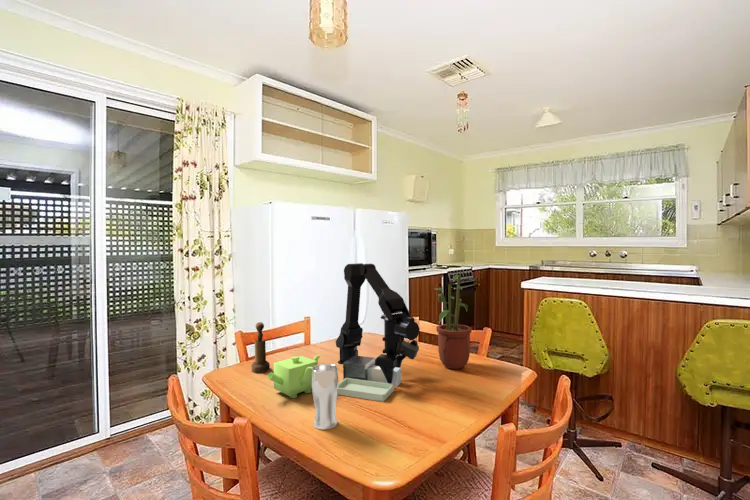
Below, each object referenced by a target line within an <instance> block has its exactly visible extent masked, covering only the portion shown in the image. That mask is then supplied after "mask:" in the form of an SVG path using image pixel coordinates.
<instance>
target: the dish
mask: <svg viewBox="0 0 750 500" xmlns="http://www.w3.org/2000/svg"><path fill="white" fill-rule="evenodd" d="M394 391H395V386H394V384H389V383H381V382H374V381H366V380H359V379H352V378H345V379H344V380H343V379H342V380H341V381H340V382H338V394H337V396H338V395H339V396H346V397H351V398H358V399H365V400H369V401H376V402H382V403H383V402H386V401H387V399H388V398H389V397H391V395H392V393H394Z"/></svg>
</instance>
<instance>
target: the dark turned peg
mask: <svg viewBox="0 0 750 500" xmlns="http://www.w3.org/2000/svg"><path fill="white" fill-rule="evenodd" d="M264 327H265V324H264V323H263V322H262V321H260V322H256V324H255V329H256V331H257V334H256V340H254V362H253V363H252V364H251V373H255V374H261V373H266V372H268V371H269V370H270V369H271V368H270V362H269V361H268V360H267V353H266V348H267V347H266V339H263V337H264V333H263V330H264Z"/></svg>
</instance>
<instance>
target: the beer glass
mask: <svg viewBox="0 0 750 500" xmlns="http://www.w3.org/2000/svg"><path fill="white" fill-rule="evenodd" d="M338 383H339V373H338V366H337V365H336V364H333V363H321V364H318V365H316V366H314V367H313V368H312V389H311V391H312V392H311V393H312V400H313V405H314V420H313V426H314V428H315V429H317V430H321V431H324V430H325V431H326V430H327V431H328V430H331V429H333V428H335V427H336V426H337V425H338V419H337V414H336V409H337V408H336V406H337V400H338V395H337V394H338Z"/></svg>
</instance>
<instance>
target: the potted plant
mask: <svg viewBox="0 0 750 500" xmlns="http://www.w3.org/2000/svg"><path fill="white" fill-rule="evenodd" d="M455 280H456V281H457V283H456V297H455V296H452V284H451V283H448V284H447V285H448V287H447V290H448V292H447V295H448V297H447V298H448V302H447V301H446V298H445V294H444V292H443V291H444V289H443V288H440V287H437V288H434V290H437V291H440V293H438V294H437V296H438V297H437V299H438V301H437V302H438V303H442V304H443V309H444V310H443V311H441V312H440V313H439V320H438V325H436V329H435V330H436V332H437V342H438V343H437V346H438V347H437V349H438V356H439V360H440V362H441V363H442V366H444V367H446V368H447V369H449V370H460V369H462V368H464V367H465V366H467V364H468V362H469V360H470V356H471V355H470V353H471V333H472V330H473V329H472V327H471V326H468V325H466V324H459V318H460V317H459V316H460V309H461V307H464V308H465V310H466V311H465V312H468V309H469V306H468V304H466V303H465V302H464V303H463V302H462V301H463V300H462V299H461V298H460V290H461V291H463V286H461V275H459V274H455V275H453V277H452V282H455ZM465 288H467V287H466V286H465ZM455 298H456V299H455ZM454 299H455V301H456V302H455V309H454V314H452V300H454ZM447 304H448V306H447ZM452 317H453V323H452ZM444 318H445V322H446V324H445V323H444V324H440V323H441V321H442V320H443V319H444Z"/></svg>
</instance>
